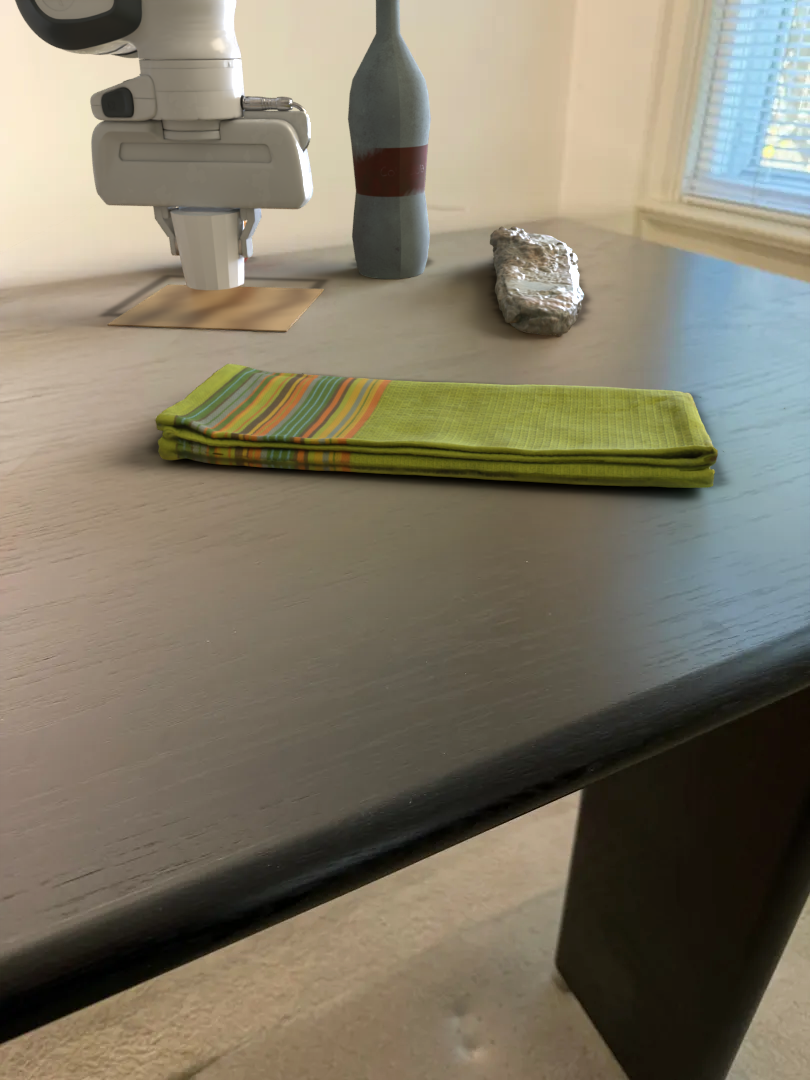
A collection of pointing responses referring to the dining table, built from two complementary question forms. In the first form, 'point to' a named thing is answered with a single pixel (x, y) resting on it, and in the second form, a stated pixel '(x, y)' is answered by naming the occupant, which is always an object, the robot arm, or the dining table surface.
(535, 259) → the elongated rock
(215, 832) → the dining table surface
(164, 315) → the cork mat
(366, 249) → the bottle
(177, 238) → the white cup
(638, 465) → the dish towel
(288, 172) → the robot arm
